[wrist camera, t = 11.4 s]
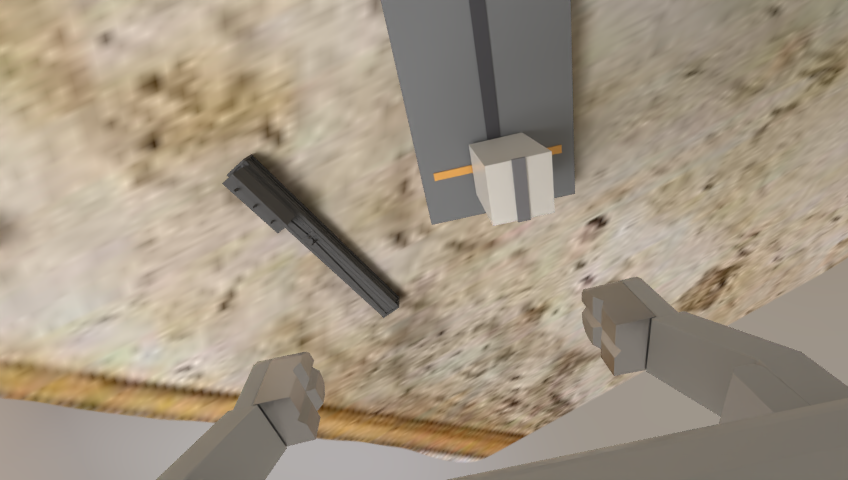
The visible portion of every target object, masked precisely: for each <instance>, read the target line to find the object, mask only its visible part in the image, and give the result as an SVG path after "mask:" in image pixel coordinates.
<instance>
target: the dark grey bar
mask: <svg viewBox="0 0 848 480" xmlns="http://www.w3.org/2000/svg"><path fill="white" fill-rule="evenodd" d="M227 176H228V177H229V178H228V179H227V180H226V181H225V182H224V183H222V184H223V185H224V186H225V187H227V188H228V189H229V190H230V191H231V192H232V193H233V194H234V195H236V196H237V197H238V198H239V199H240V200H241V201H242V202H243V203H244V204H246V205H247V206H248V207H249V208H250V209H251V210H252V211H253V212H254V213H256V214H257V215H258V216H259V217H260V218H261V219H262V220H263V221H265V222H266V223H267V224H268V225H269V226H270V227H271V228H272V229H273V230H275V231H276V232H277V233H279V232H280V231H281V230H282V229H284V228H286V229H287V230H288V231H289V232H290V233H291V234H293V235H294V236H295V237H296V238H297V239H298V240H299V241H300V242H301V243H302V244H304V245H305V246H306V247H307V248H308V249H309V250H310V251H311V252H312V253H313V254H315V255H316V256H317V257H318V258H319V259H320V260H321V261H322V262H323V263H324V264H326V265H327V266H328V267H329V268H330V269H331V270H332V271H333V272H334V273H335V274H337V275H338V276H339V277H340V278H341V279H342V280H343V281H344V282H345V283H346V284H348V285H349V286H350V287H351V288H352V289H353V290H354V291H355V292H356V293H357V294H359V295H360V296H361V297H362V298H363V299H364V300H365V301H366V302H367V303H368V304H370V305H371V306H372V307H373V308H374V309H375V310H376V311H377V312H378V313H379V314H381V315H382V317H383V318H384V317H386V316H387V315H389V314H390V313H392V312H393V311H395V310H396V309H397V308H399V296H397V295H396V294H395V293H394V292H393V291H392V290H391V289H390V288H389V287H388V286H387V285H386V284H385V283H384V282H383V281H382V280H381V279H380V278H379V277H378V276H377V275H376V274H374V273H373V272H372V271H371V270H370V269H369V268H368V267H367V266H366V265H365V264H364V263H363V262H362V261H361V260H360V259H359V258H358V257H357V256H356V255H355V254H354V253H353V252H352V251H351V250H350V249H349V248H348V247H347V246H345V245H344V244H343V243H342V242H341V241H340V240H339V239H338V238H337V237H336V236H335V235H334V234H333V233H332V232H331V231H330V230H329V229H328V228H327V227H326V226H325V225H324V224H323V223H322V222H321V221H320V220H319V219H318V218H317V217H315V216H314V215H313V214H312V213H311V212H310V211H309V210H308V209H307V208H306V207H305V206H304V205H303V204H302V203H301V202H300V201H299V200H298V199H297V198H296V197H295V196H294V195H293V194H292V193H291V192H290V191H289V190H288V189H287V188H285V187H284V186H283V185H282V184H281V183H280V182H279V181H278V180H277V179H276V178H275V177H274V176H273V175H272V174H271V173H270V172H269V171H268V170H267V169H266V168H265V167H264V166H263V165H262V164H261V163H260V162H259V161H258V160H256V159H255V158H254V157H253V155H252V154H251V155H250V156H248V157H246V158H245V159H243V160H242V161H241V162H240V163H239V164H238V165H237V166H236V167H235V168H234V169H233V170H231V171H230V172H229V173H228V174H227Z"/></svg>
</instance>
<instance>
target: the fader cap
mask: <svg viewBox="0 0 848 480" xmlns="http://www.w3.org/2000/svg"><path fill="white" fill-rule="evenodd" d="M469 150H470V157H471V163H472V169H473V176H474V182H475V188H476V194H477V196H478V198H479V200H480V202H481V204H482V206H483V208H484V210H485V212H486V213H487V215H488V217H489V219H490V221H491V223H492V225H493V226H495V225H500V224H504V223H509V222H514V221H518V222H522V221H527V220H531V218H532V217H537V216H541V215H546V214H551V213H555V206H554V187H553V167H552V151H550V150H549V149H547V148H546V147H544V146H543V145H541V144H539V143H538V142H536V141H535V140H533V139H532V138H530V137H528V136H527V135H525V134H524V133H517V134H513V135H508V136H504V137H500V138H495V139H491V140H487V141H482V142H478V143H473V144H469Z"/></svg>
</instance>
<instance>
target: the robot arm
mask: <svg viewBox="0 0 848 480" xmlns="http://www.w3.org/2000/svg"><path fill="white" fill-rule="evenodd" d="M582 302H583V303H584V304H585V306H586V308H585V309H584V311H583V312H582V320H583V325H584V329H585V332H586V334H587V336H588V338H589V340H590V341H591V343H592V344H593V345H594V346H596V347H598V348H600V349H601V358H602V359H603V361H604V362H605V363H606V365H607V366H608V368H609V369H610V371H611V372H612V374H613V375H614V376H615V375H621V374H626V373H632V372H637V371H643V370H646V372H648V373H650V374H651V375H653V376H655V377H656V378H658V379H659V380H661V381H663V382H664V383H666V384H668V385H669V386H671V387H673V388H674V389H676V390H678V391H679V392H681V393H683V394H684V395H686V396H687V397H689V398H691V399H692V400H694V401H696V402H697V403H699V404H700V405H702V406H704V407H705V408H707V409H709V410H710V411H712V412H714V413H715V414H717V415H719V416H720V417H721V418H720V421H719V424H717V425H712V426H707V427H702V428H697V429H692V430H687V431H682V432H678V433H673V434H668V435H663V436H658V437H653V438H648V439H643V440H638V441H633V442H629V443H624V444H619V445H614V446H609V447H604V448H600V449H595V450H590V451H585V452H580V453H575V454H570V455H565V456H560V457H556V458H551V459H546V460H541V461H536V462H531V463H527V464H522V465H517V466H512V467H507V468H502V469H498V470H493V471H488V472H483V473H478V474H473V475H468V476H463V477H458V478H453V479H448V480H848V386H846V385H845V384H844V383H842V382H841V381H840V380H838V379H837V378H836V377H834V376H833V375H832V374H830V373H829V372H827V371H826V370H825V369H824V368H822V367H821V366H819V365H818V364H817V363H815V362H814V361H813V360H811V359H810V358H808V357H807V356H806V355H805V354H803V353H802V352H800V351H797V350H794V349H791V348H789V347H786V346H783V345H780V344H777V343H774V342H771V341H768V340H765V339H762V338H760V337H757V336H754V335H751V334H748V333H745V332H742V331H739V330H736V329H734V328H731V327H728V326H725V325H722V324H719V323H716V322H713V321H710V320H708V319H705V318H702V317H699V316H696V315H693V314H690V313H687V312H679V313H678V312H677V311H676V310H675V309H674V308H673V307H672V306H671V305H670V304H668V303H667V302H666V301H665V300H664V299H663V298H662V297H661V296H660V295H659V294H657V293H656V292H655V291H654V290H653V289H652V288H651V287H650V286H649V285H648V284H647V283H645V282H644V281H643V280H642V279H641V278H639V277H633V278H629V279H625V280H621V281H618V282H613V283H609V284H605V285H600V286H596V287H592V288H587V289H583V292H582ZM313 362H314V360H313V358H312V356H311V355H310V353H308V352H302V353H297V354H292V355H287V356H282V357H277V358H274V359H269V360H264V361H259V362H257V363H256V364H255V365H254V366H253V368H252V370H251V372H250V374H249V377H248V379H247V381H246V383H245V385H244V387H243V390H242V392H241V394H240V396H239V398H238V401H237V403H236V405H235V407H234V409H233V410H231V411H228V412H227V413H226V414H225V415H224V416H222V417H221V418H220V419H219V420H218V421H217V422H216V423H215V424H214V425H213V426H212V427H211V428H210V429H209V430H208V431H207V432H206V433H205V434H204V435H203V436H201V437H200V438H199V439H198V440H197V441H196V442H195V443H194V444H193V445H192V446H191V447H190V448H189V449H188V450H187V451H186V452H185V453H184V454H183V455H181V456H180V457H179V459H177V460H176V461H175V462H174V463H173V464H172V465H171V466H170V467H169V468H168V469H167V470H166V471H165V472H164V473H163V474H161V476H159V477H158V478H157V479H156V480H265V479H266V478H267V476H268V475H269V473H270V472H271V470H272V469H273V467H274V466H275V465H276V463H277V462H278V460H279V459H280V457H281V456H282V454H283V453H284V451H285V450H286V449H287V447H286V446H290V445H294V444H298V443H302V442H306V441H310V440H315V439H316V436H317V431H318V426H319V421H320V416H319V414H318V412H317V410H318V409H319V408H320V407H321V405H322V404H323V402H324V396H325V386H324V381H323V377H322V375H321V373H320V371H319V370H317V369H315V368H313V367H312V366H313Z"/></svg>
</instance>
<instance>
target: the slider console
mask: <svg viewBox="0 0 848 480" xmlns="http://www.w3.org/2000/svg"><path fill="white" fill-rule="evenodd" d="M381 3H382V8H383V12H384V17H385V21H386V25H387V30H388V34H389V39H390V43H391V47H392V52H393V56H394V61H395V65H396V69H397V74H398V78H399V82H400V87H401V91H402V96H403V100H404V104H405V109H406V113H407V118H408V122H409V126H410V131H411V135H412V140H413V144H414V148H415V153H416V157H417V162H418V166H419V170H420V175H421V179H422V183H423V188H424V192H425V197H426V201H427V205H428V210H429V214H430V219H431V223H432V225H433V224H438V223H442V222H447V221H451V220H456V219H461V218H465V217H470V216H474V215H479V214H484V213H486V212H485V210H484V208H483V206H482V204H481V202H480V200H479V198H478V196H477V194H476V188H475V182H474V176H473V169H472V163H471V157H470V150H469V144H473V143H478V142H482V141H487V140H491V139H495V138H500V137H504V136H508V135H513V134H517V133H524V134H525V135H527V136H528V137H530V138H532V139H533V140H535V141H536V142H538V143H539V144H541V145H543V146H544V147H546V148H547V149H549V150H550V151H552V167H553V187H554V198H557V197H562V196H567V195H571V194H575V175H574V129H573V83H572V37H571V0H381Z"/></svg>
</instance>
